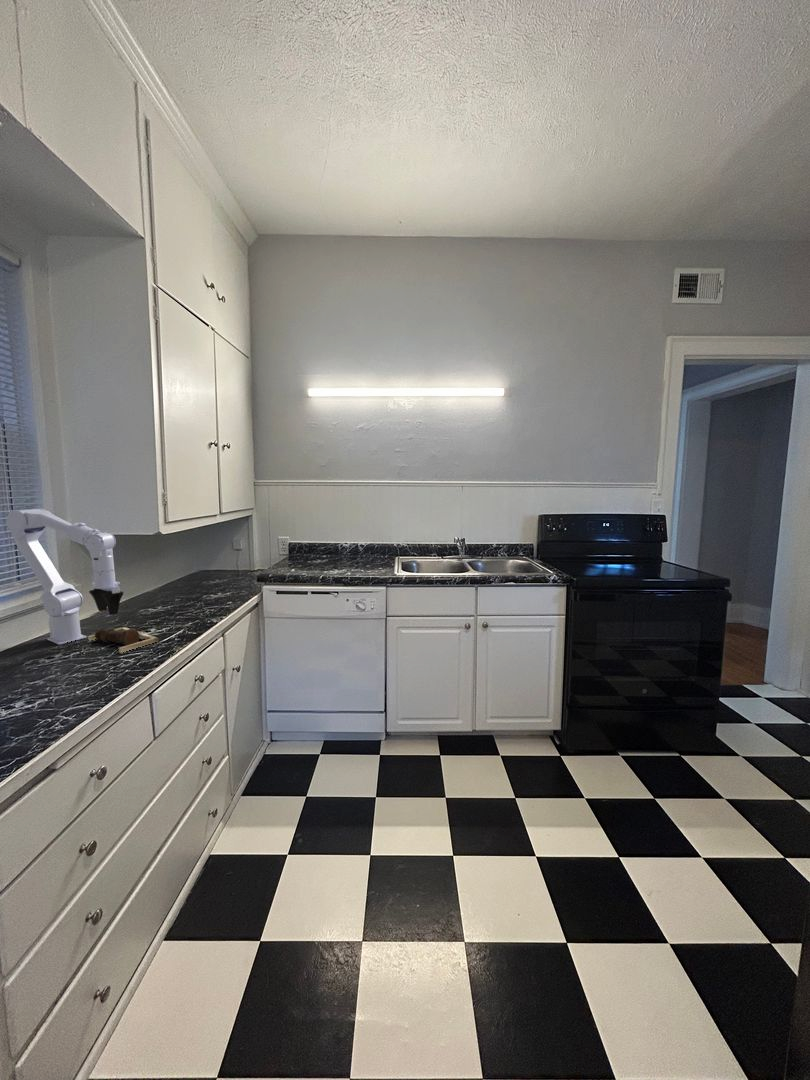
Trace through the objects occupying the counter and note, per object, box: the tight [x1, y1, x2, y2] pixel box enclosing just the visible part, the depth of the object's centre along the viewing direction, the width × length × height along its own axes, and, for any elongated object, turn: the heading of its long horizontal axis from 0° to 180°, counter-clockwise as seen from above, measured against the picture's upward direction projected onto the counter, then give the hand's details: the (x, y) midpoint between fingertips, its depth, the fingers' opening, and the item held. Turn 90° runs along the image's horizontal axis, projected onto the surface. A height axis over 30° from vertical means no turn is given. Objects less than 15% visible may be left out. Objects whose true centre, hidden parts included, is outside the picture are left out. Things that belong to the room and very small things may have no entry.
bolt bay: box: [87, 626, 159, 654], centre depth 151 cm, size 21×11×2 cm, turn 56°
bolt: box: [94, 627, 140, 646], centre depth 151 cm, size 6×5×15 cm
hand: (108, 612), depth 152 cm, fingers open, 7 cm apart
